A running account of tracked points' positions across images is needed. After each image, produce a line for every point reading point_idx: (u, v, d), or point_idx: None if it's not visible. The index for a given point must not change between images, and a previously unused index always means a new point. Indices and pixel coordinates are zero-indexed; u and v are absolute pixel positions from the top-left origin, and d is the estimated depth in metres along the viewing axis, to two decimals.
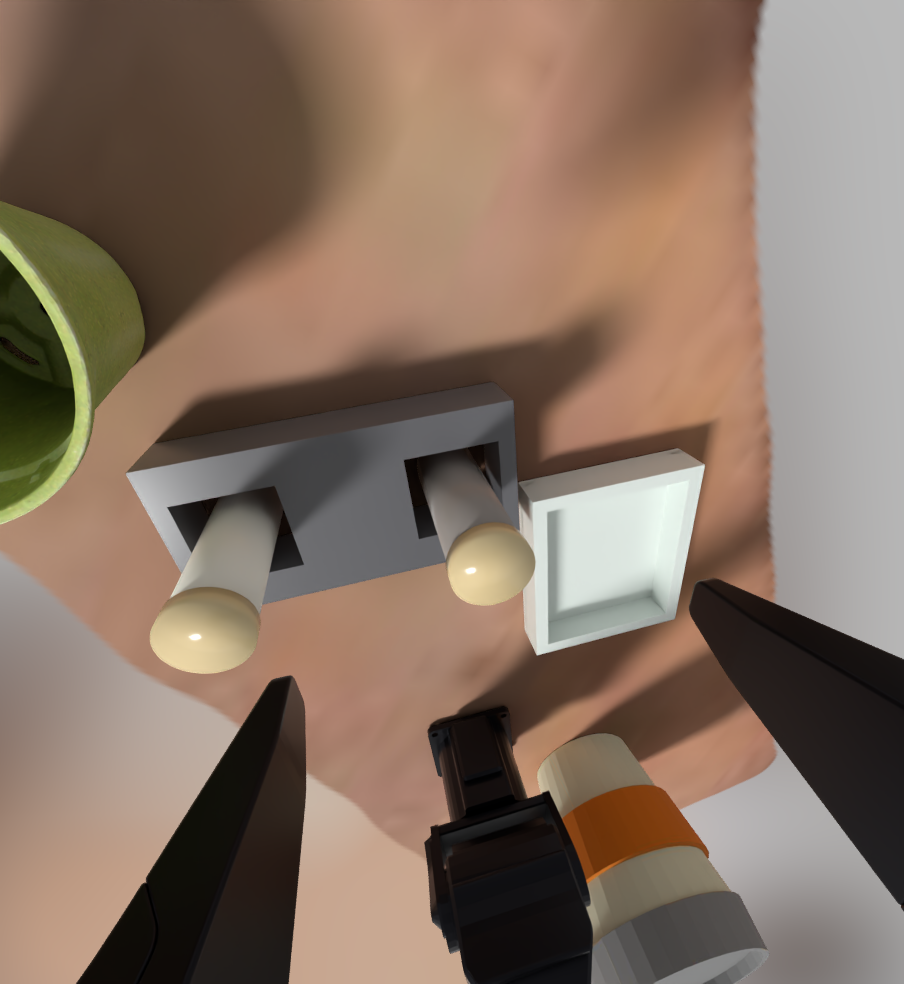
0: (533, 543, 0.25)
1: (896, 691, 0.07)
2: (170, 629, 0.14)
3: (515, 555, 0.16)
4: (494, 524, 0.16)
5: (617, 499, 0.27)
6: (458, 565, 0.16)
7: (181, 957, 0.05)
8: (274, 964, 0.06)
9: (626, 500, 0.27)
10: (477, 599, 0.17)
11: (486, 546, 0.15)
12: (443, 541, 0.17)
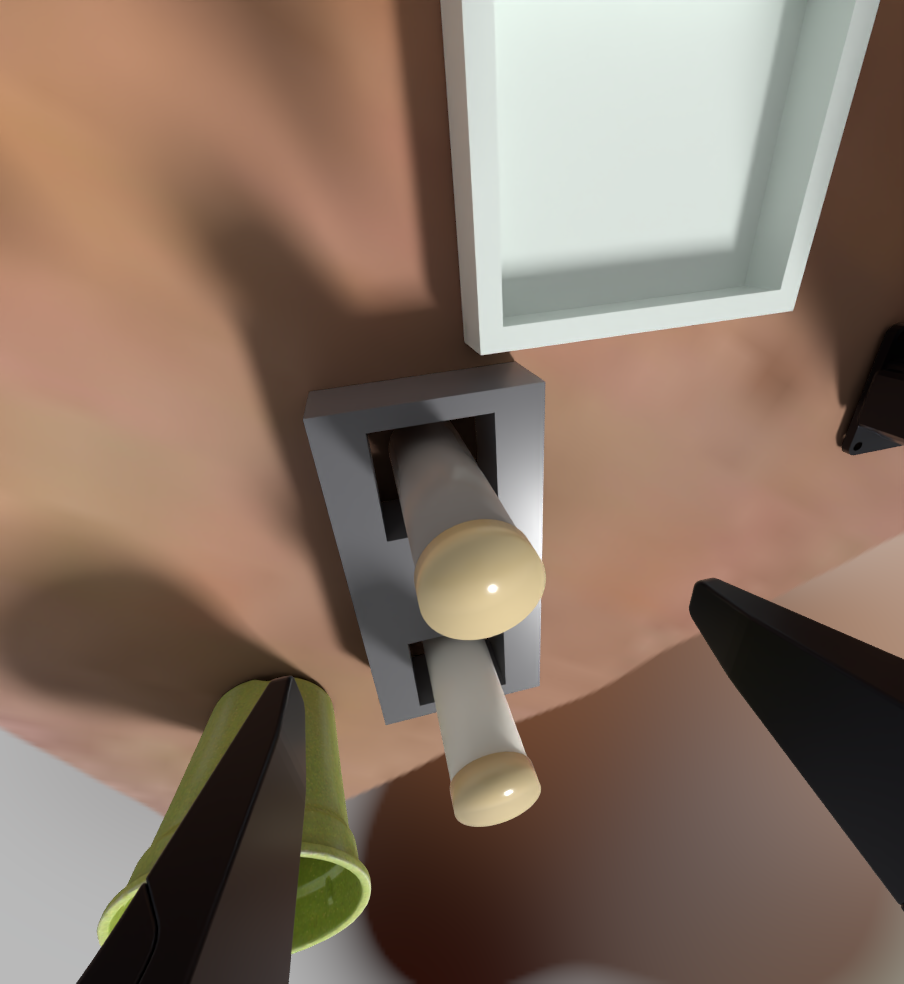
0: (557, 343, 0.15)
1: (896, 691, 0.07)
2: (478, 818, 0.16)
3: (460, 569, 0.10)
4: (414, 577, 0.11)
5: (527, 134, 0.14)
6: (461, 633, 0.11)
7: (181, 957, 0.05)
8: (274, 964, 0.06)
9: (534, 109, 0.13)
10: (528, 603, 0.11)
11: (435, 608, 0.11)
12: None
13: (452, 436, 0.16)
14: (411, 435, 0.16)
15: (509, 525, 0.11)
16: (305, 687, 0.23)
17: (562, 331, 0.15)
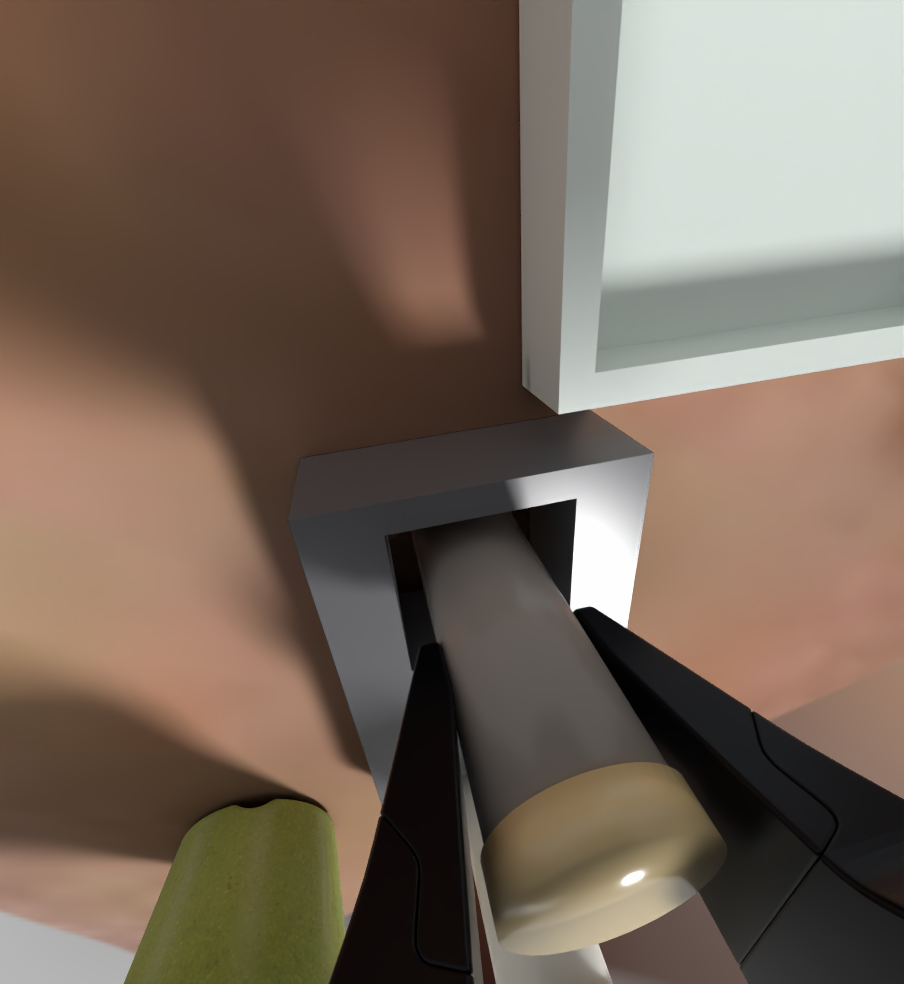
0: (669, 394, 0.10)
1: (720, 742, 0.06)
2: None
3: (582, 882, 0.05)
4: (484, 862, 0.06)
5: (644, 71, 0.09)
6: (564, 945, 0.06)
7: (443, 877, 0.05)
8: (474, 901, 0.07)
9: (659, 29, 0.08)
10: (684, 894, 0.06)
11: (527, 933, 0.06)
12: None
13: (507, 526, 0.11)
14: (447, 523, 0.11)
15: (661, 770, 0.06)
16: (299, 813, 0.18)
17: (680, 377, 0.10)
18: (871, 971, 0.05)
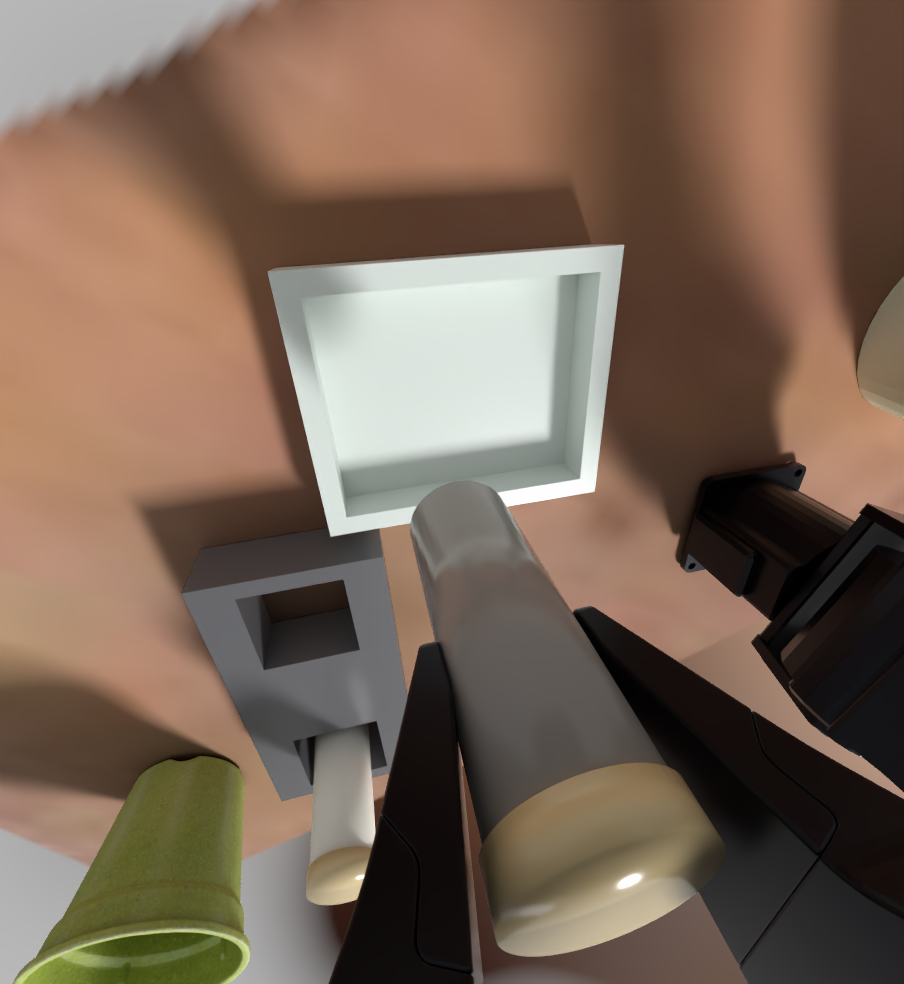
0: (395, 524, 0.19)
1: (720, 742, 0.06)
2: (329, 899, 0.20)
3: (581, 883, 0.05)
4: (483, 862, 0.06)
5: (360, 378, 0.17)
6: (563, 946, 0.06)
7: (442, 877, 0.05)
8: (474, 901, 0.07)
9: (364, 363, 0.17)
10: (683, 895, 0.06)
11: (525, 934, 0.06)
12: None
13: (507, 526, 0.11)
14: (446, 523, 0.11)
15: (660, 771, 0.06)
16: (215, 765, 0.26)
17: (397, 517, 0.19)
18: (871, 971, 0.05)
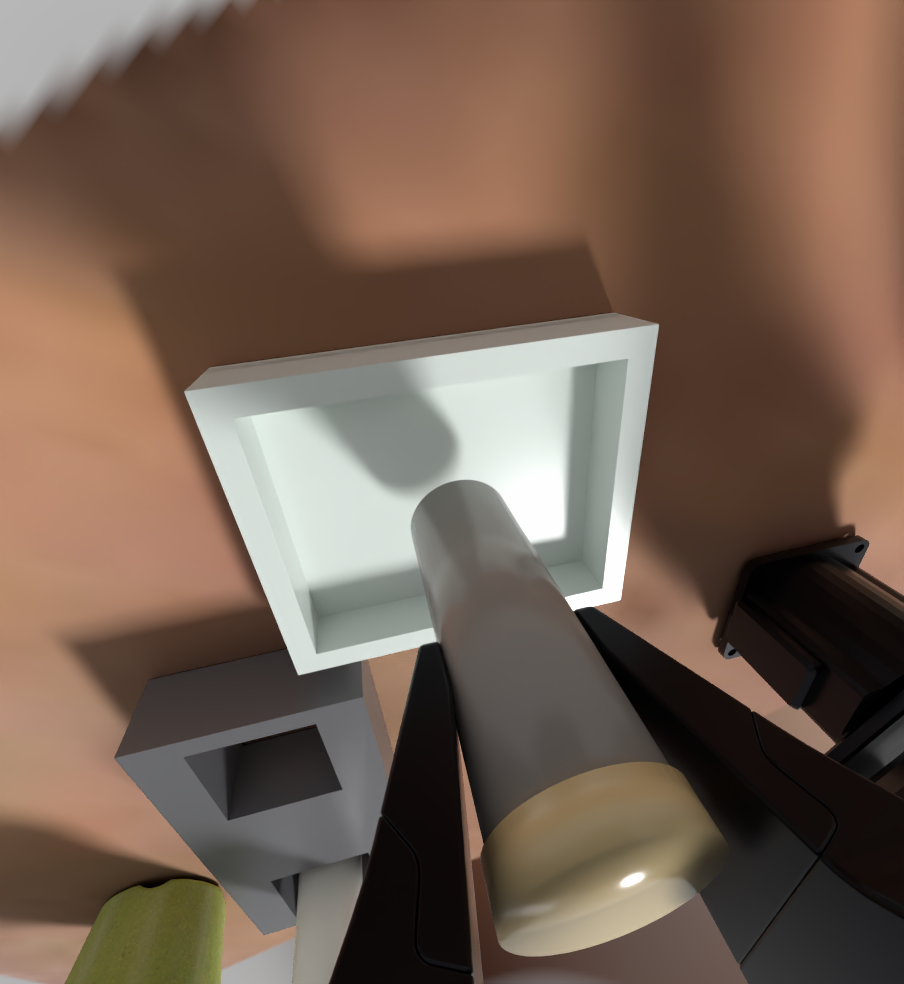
0: (377, 654, 0.16)
1: (720, 742, 0.06)
2: None
3: (583, 882, 0.05)
4: (484, 862, 0.06)
5: (327, 490, 0.14)
6: (565, 946, 0.06)
7: (443, 877, 0.05)
8: (474, 901, 0.07)
9: (330, 472, 0.14)
10: (686, 894, 0.06)
11: (527, 934, 0.06)
12: None
13: (508, 525, 0.11)
14: (447, 522, 0.11)
15: (662, 770, 0.06)
16: (189, 890, 0.23)
17: (379, 647, 0.15)
18: (871, 971, 0.05)
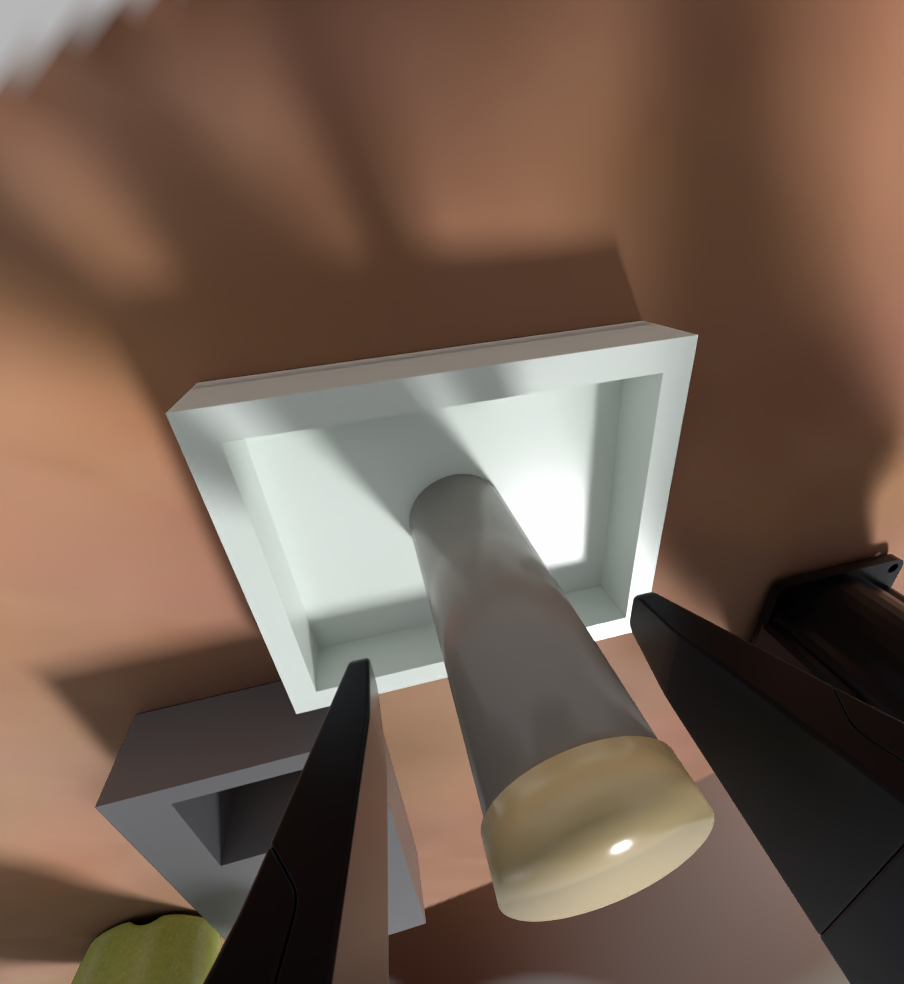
0: (382, 690, 0.14)
1: (808, 716, 0.06)
2: None
3: (578, 847, 0.06)
4: (485, 832, 0.06)
5: (327, 514, 0.13)
6: (561, 912, 0.07)
7: (320, 913, 0.05)
8: (380, 930, 0.07)
9: (331, 495, 0.13)
10: (674, 861, 0.07)
11: (525, 898, 0.06)
12: None
13: (504, 517, 0.11)
14: (445, 515, 0.11)
15: (652, 743, 0.06)
16: (182, 927, 0.22)
17: (385, 684, 0.14)
18: None
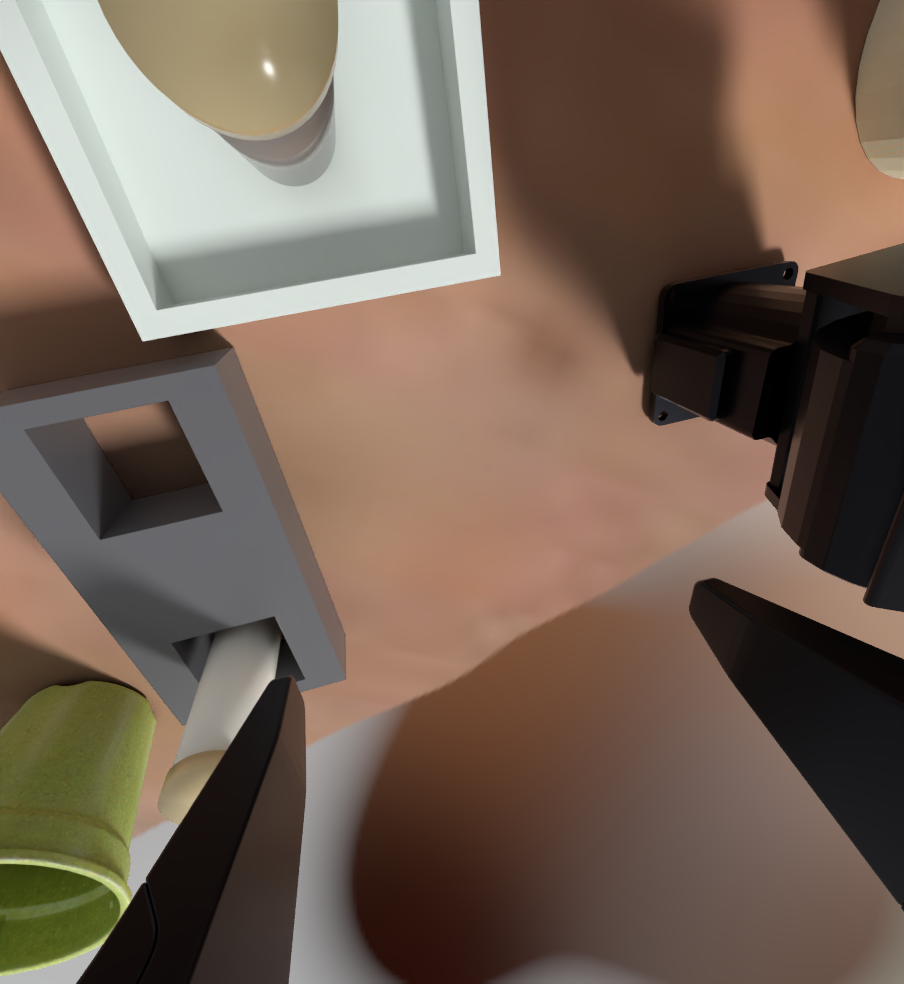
0: (230, 324, 0.15)
1: (896, 691, 0.07)
2: None
3: None
4: None
5: (144, 105, 0.13)
6: (207, 104, 0.07)
7: (180, 957, 0.05)
8: (274, 964, 0.06)
9: (142, 77, 0.13)
10: (316, 42, 0.07)
11: (131, 9, 0.06)
12: (248, 143, 0.08)
13: None
14: None
15: None
16: (108, 690, 0.23)
17: (229, 311, 0.14)
18: None
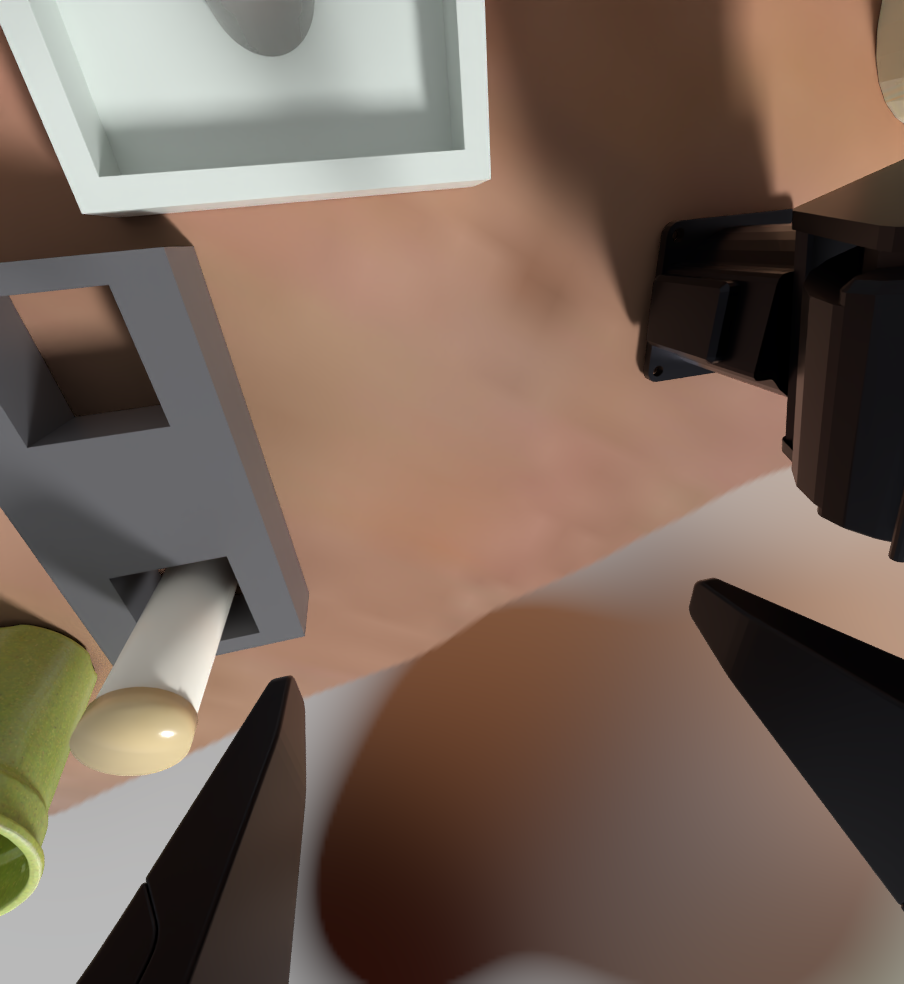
0: (185, 205, 0.13)
1: (896, 691, 0.07)
2: (116, 765, 0.14)
3: None
4: None
5: None
6: None
7: (181, 957, 0.05)
8: (274, 964, 0.06)
9: None
10: None
11: None
12: None
13: None
14: None
15: None
16: (42, 636, 0.21)
17: (184, 188, 0.13)
18: None
